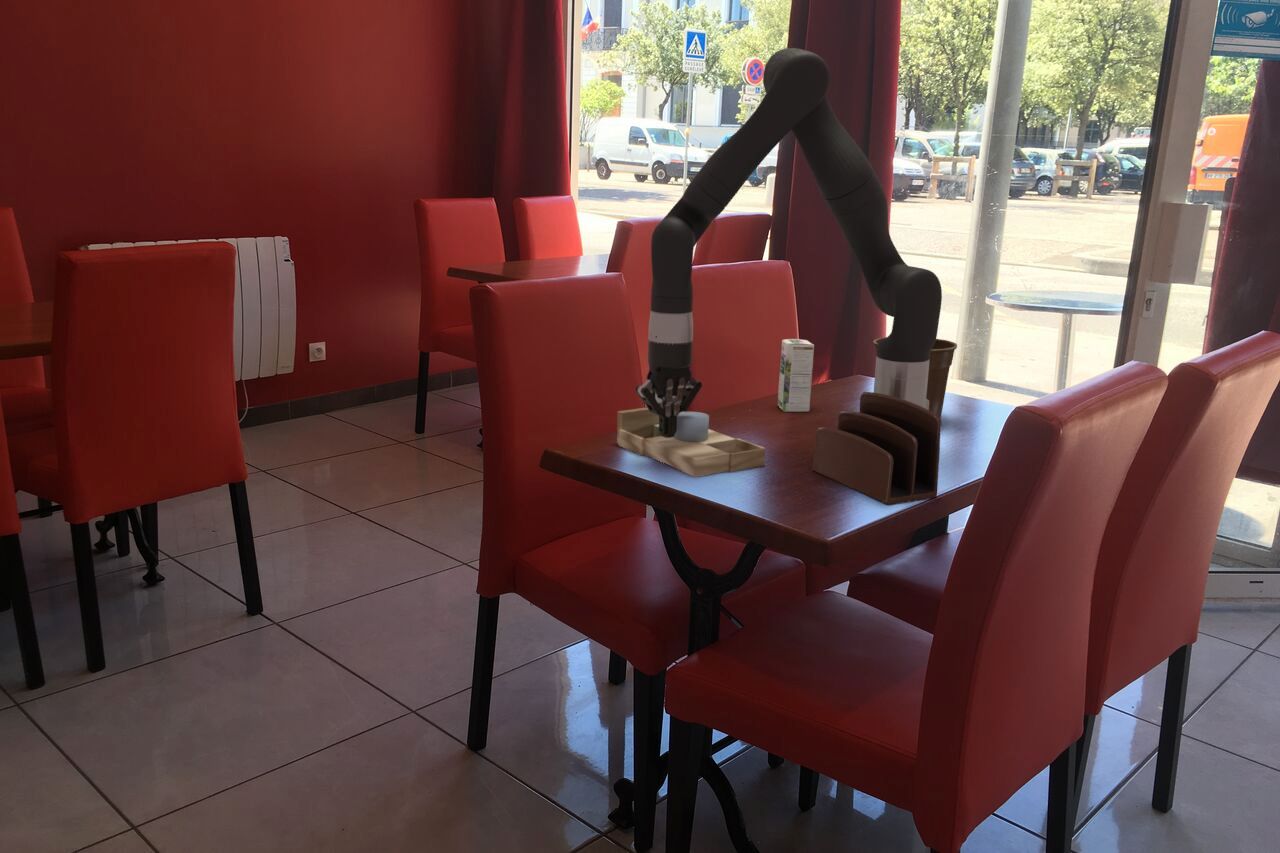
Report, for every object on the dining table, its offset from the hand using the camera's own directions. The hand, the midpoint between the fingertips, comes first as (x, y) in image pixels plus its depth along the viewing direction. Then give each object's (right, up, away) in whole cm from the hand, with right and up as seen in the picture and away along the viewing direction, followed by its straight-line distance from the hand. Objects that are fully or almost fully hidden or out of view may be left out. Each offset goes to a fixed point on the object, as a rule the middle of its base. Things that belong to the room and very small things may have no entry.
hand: (667, 436), depth 180 cm
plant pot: (+50, +3, +31) cm, 59 cm away
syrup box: (+28, +5, +39) cm, 48 cm away
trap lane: (+4, -3, +4) cm, 6 cm away
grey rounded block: (+4, 0, +3) cm, 5 cm away
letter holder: (+33, -8, -11) cm, 36 cm away
